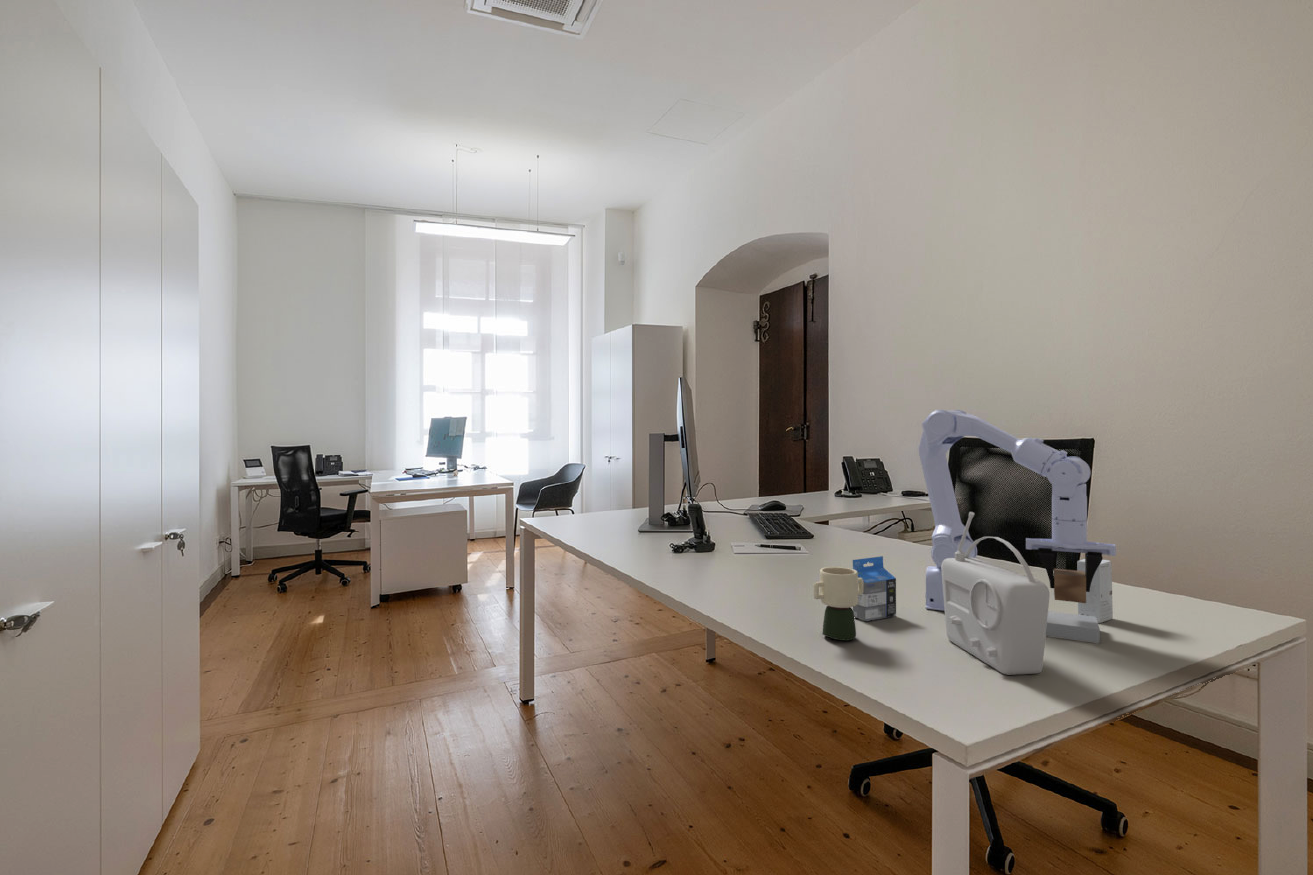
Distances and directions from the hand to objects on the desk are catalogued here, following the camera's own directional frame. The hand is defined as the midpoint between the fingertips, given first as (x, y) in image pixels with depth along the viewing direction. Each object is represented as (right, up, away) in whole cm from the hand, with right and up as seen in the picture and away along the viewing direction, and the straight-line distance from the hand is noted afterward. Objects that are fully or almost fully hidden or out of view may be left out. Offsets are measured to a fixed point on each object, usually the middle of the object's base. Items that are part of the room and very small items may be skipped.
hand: (1069, 588), depth 121 cm
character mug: (-45, -9, -2) cm, 46 cm away
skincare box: (+11, -9, +9) cm, 16 cm away
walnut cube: (0, -2, 0) cm, 2 cm away
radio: (-22, -9, -12) cm, 27 cm away
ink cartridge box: (-34, -9, +11) cm, 37 cm away
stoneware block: (0, -9, 0) cm, 9 cm away
